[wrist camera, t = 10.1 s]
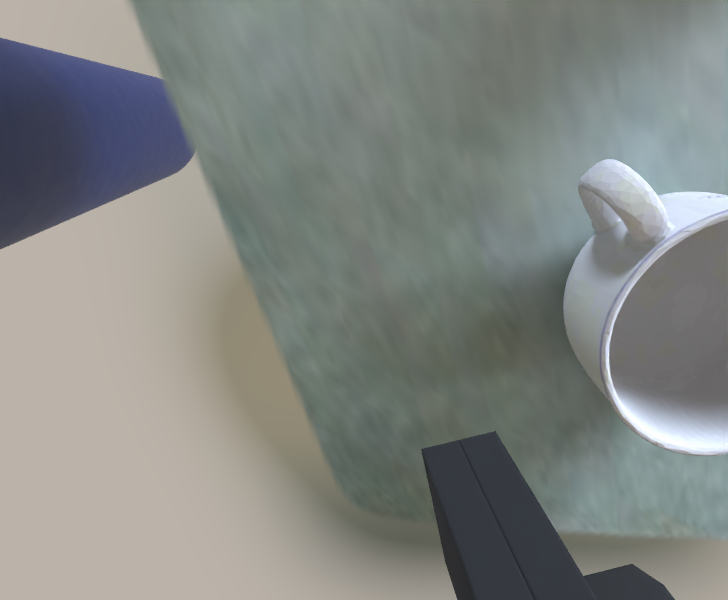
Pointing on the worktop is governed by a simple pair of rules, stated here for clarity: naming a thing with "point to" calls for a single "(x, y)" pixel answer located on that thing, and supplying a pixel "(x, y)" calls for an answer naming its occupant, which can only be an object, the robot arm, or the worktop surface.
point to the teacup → (654, 308)
